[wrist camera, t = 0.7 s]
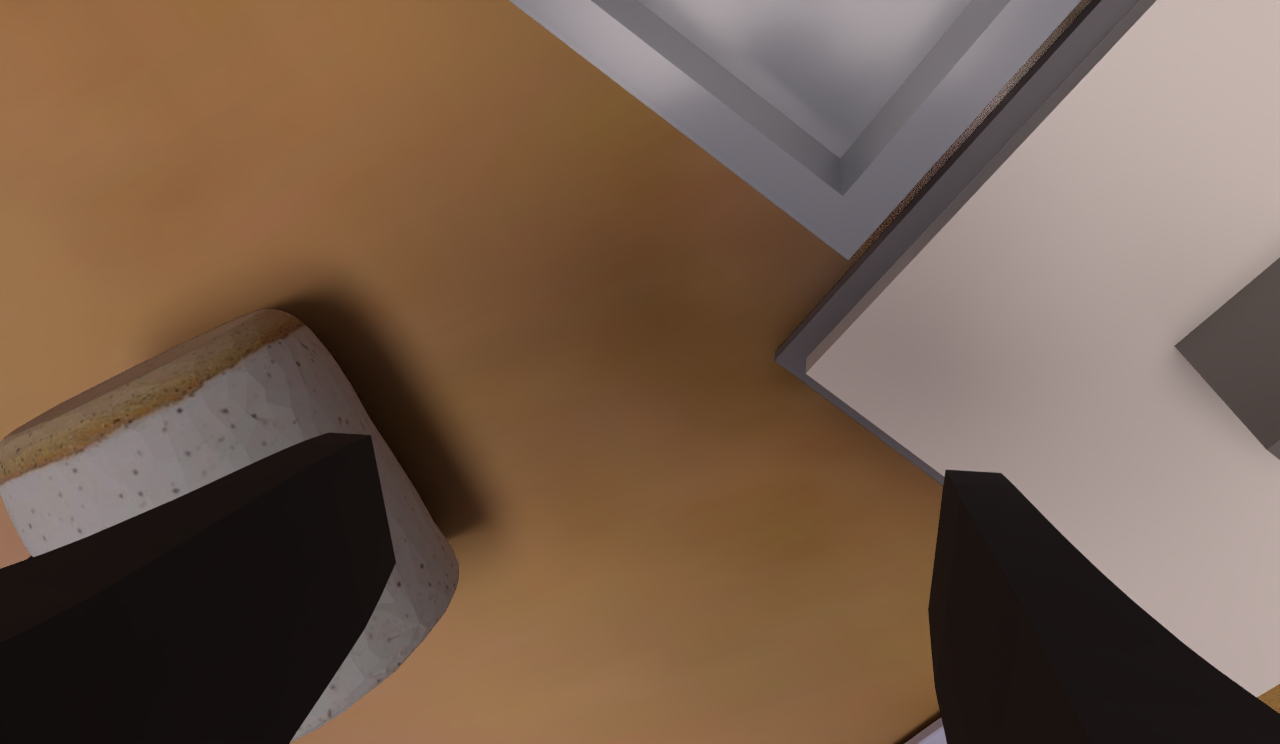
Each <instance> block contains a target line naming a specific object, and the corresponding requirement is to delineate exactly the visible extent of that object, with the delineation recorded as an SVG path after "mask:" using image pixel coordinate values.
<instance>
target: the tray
mask: <svg viewBox="0 0 1280 744" xmlns="http://www.w3.org/2000/svg"><path fill="white" fill-rule="evenodd" d="M509 1H511V2H512V3H513V4H514V5H516V6H517V7H518V8H520V9H521V10H522V11H524V12H525V13H526V14H528V15H529V16H530V17H531V18H533V19H534V20H535V21H537V22H538V23H539V24H541V25H542V26H543V27H544V28H546V29H547V30H548V31H550V32H551V33H552V34H554V35H555V36H556V37H557V38H559V39H560V40H561V41H563V42H564V43H565V44H567V45H568V46H569V47H571V48H572V49H573V50H574V51H576V52H577V53H578V54H580V55H581V56H582V57H584V58H585V59H586V60H587V61H589V62H590V63H591V64H593V65H594V66H595V67H597V68H598V69H599V70H601V71H602V72H603V73H604V74H606V75H607V76H608V77H610V78H611V79H612V80H614V81H615V82H616V83H617V84H619V85H620V86H621V87H623V88H624V89H625V90H627V91H628V92H629V93H630V94H632V95H633V96H634V97H636V98H637V99H638V100H640V101H641V102H642V103H644V104H645V105H646V106H647V107H649V108H650V109H651V110H653V111H654V112H655V113H657V114H658V115H659V116H660V117H662V118H663V119H664V120H666V121H667V122H668V123H670V124H671V125H672V126H674V127H675V128H676V129H677V130H679V131H680V132H681V133H683V134H684V135H685V136H687V137H688V138H689V139H690V140H692V141H693V142H694V143H696V144H697V145H698V146H700V147H701V148H702V149H703V150H705V151H706V152H707V153H709V154H710V155H711V156H713V157H714V158H715V159H717V160H718V161H719V162H720V163H722V164H723V165H724V166H726V167H727V168H728V169H730V170H731V171H732V172H733V173H735V174H736V175H737V176H739V177H740V178H741V179H743V180H744V181H745V182H747V183H748V184H749V185H750V186H752V187H753V188H754V189H756V190H757V191H758V192H760V193H761V194H762V195H763V196H765V197H766V198H767V199H769V200H770V201H771V202H773V203H774V204H775V205H776V206H778V207H779V208H780V209H782V210H783V211H784V212H786V213H787V214H788V215H790V216H791V217H792V218H793V219H795V220H796V221H797V222H799V223H800V224H801V225H803V226H804V227H805V228H806V229H808V230H809V231H810V232H812V233H813V234H814V235H816V236H817V237H818V238H820V239H821V240H822V241H823V242H825V243H826V244H827V245H829V246H830V247H831V248H833V249H834V250H835V251H836V252H838V253H839V254H840V255H842V256H843V257H844V258H846V259H847V260H849V259H850V258H851V257H852V256H853V254H854V253H855V252H856V251H857V250H858V249H859V248H860V247H861V246H862V244H863V243H864V242H865V241H866V240H867V239H868V238H869V237H870V236H871V234H872V233H873V232H874V231H875V230H876V229H877V228H878V227H879V225H880V224H881V223H882V222H883V221H884V220H885V219H886V218H887V217H888V215H889V214H890V213H891V212H892V211H893V210H894V209H895V208H896V206H897V205H898V204H899V203H900V202H901V201H902V200H903V199H904V198H905V196H906V195H907V194H908V193H909V192H910V191H911V190H912V189H913V188H914V186H915V185H916V184H917V183H918V182H919V181H920V180H921V179H922V177H923V176H924V175H925V174H926V173H927V172H928V171H929V170H930V169H931V167H932V166H933V165H934V164H935V163H936V162H937V161H938V160H939V158H940V157H941V156H942V155H943V154H944V153H945V152H946V151H947V150H948V148H949V147H950V146H951V145H952V144H953V143H954V142H955V141H956V140H957V138H958V137H959V136H960V135H961V134H962V133H963V132H964V131H965V129H966V128H967V127H968V126H969V125H970V124H971V123H972V122H973V121H974V119H975V118H976V117H977V116H978V115H979V114H980V113H981V112H982V111H983V109H984V108H985V107H986V106H987V105H988V104H989V103H990V102H991V100H992V99H993V98H994V97H995V96H996V95H997V94H998V93H999V92H1000V90H1001V89H1002V88H1003V87H1004V86H1005V85H1006V84H1007V83H1008V81H1009V80H1010V79H1011V78H1012V77H1013V76H1014V75H1015V74H1016V73H1017V71H1018V70H1019V69H1020V68H1021V67H1022V66H1023V65H1024V64H1025V63H1026V61H1027V60H1028V59H1029V58H1030V57H1031V56H1032V55H1033V54H1034V52H1035V51H1036V50H1037V49H1038V48H1039V47H1040V46H1041V45H1042V44H1043V42H1044V41H1045V40H1046V39H1047V38H1048V37H1049V36H1050V35H1051V33H1052V32H1053V31H1054V30H1055V29H1056V28H1057V27H1058V26H1059V25H1060V23H1061V22H1062V21H1063V20H1064V19H1065V18H1066V17H1067V16H1068V15H1069V13H1070V12H1071V11H1072V10H1073V9H1074V8H1075V7H1076V6H1077V4H1078V3H1079V2H1080V1H1081V0H509Z"/></svg>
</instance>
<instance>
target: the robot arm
mask: <svg viewBox="0 0 1280 744" xmlns="http://www.w3.org/2000/svg"><path fill="white" fill-rule="evenodd" d="M395 564H396V559H395V554H394V549H393V544H392V539H391V534H390V529H389V524H388V519H387V514H386V508H385V503H384V498H383V493H382V488H381V483H380V478H379V473H378V468H377V463H376V457H375V452H374V447H373V442H372V437H371V435H363V434H346V433H330V432H329V433H326V434H323V435H320V436H316V437H313V438H311V439H308V440H305V441H303V442H300V443H298V444H295V445H293V446H290V447H288V448H286V449H283V450H281V451H279V452H277V453H274V454H272V455H270V456H268V457H265V458H263V459H261V460H259V461H257V462H254V463H252V464H250V465H248V466H246V467H243V468H241V469H239V470H237V471H235V472H233V473H230V474H228V475H226V476H224V477H222V478H220V479H217V480H215V481H213V482H211V483H209V484H207V485H204V486H202V487H200V488H198V489H196V490H194V491H191V492H189V493H187V494H185V495H183V496H181V497H178V498H176V499H174V500H172V501H169V502H167V503H165V504H162V505H160V506H158V507H155V508H153V509H151V510H148V511H146V512H144V513H142V514H139V515H137V516H135V517H132V518H130V519H128V520H125V521H123V522H121V523H118V524H116V525H114V526H111V527H109V528H107V529H104V530H102V531H100V532H97V533H95V534H93V535H90V536H88V537H85V538H83V539H80V540H78V541H75V542H73V543H70V544H68V545H65V546H62V547H60V548H57V549H54V550H52V551H49V552H46V553H44V554H41V555H38V556H36V557H33V558H30V559H27V560H24V561H21V562H18V563H16V564H13V565H10V566H7V567H4V568H1V569H0V744H289V743H290V741H291V740H292V738H293V737H294V735H295V734H296V732H297V731H298V729H299V728H300V726H301V725H302V724H303V722H304V721H305V719H306V718H307V716H308V715H309V713H310V712H311V710H312V709H313V707H314V706H315V704H316V703H317V701H318V700H319V698H320V697H321V695H322V694H323V692H324V691H325V689H326V688H327V686H328V685H329V683H330V682H331V680H332V679H333V677H334V676H335V674H336V673H337V671H338V670H339V668H340V666H341V665H342V663H343V662H344V660H345V659H346V657H347V656H348V654H349V653H350V651H351V650H352V648H353V647H354V645H355V643H356V642H357V640H358V639H359V637H360V636H361V634H362V632H363V631H364V629H365V628H366V626H367V624H368V622H369V620H370V618H371V616H372V614H373V612H374V610H375V608H376V606H377V604H378V602H379V600H380V597H381V595H382V593H383V591H384V589H385V586H386V584H387V582H388V580H389V577H390V575H391V573H392V571H393V569H394V566H395ZM928 612H929V624H930V637H931V649H932V660H933V670H934V681H935V690H936V694H937V699H938V704H939V709H940V714H941V718H939V719H938V720H937V721H935V722H934V723H932V724H931V725H930V726H928V727H927V728H925V729H924V730H923V731H921V732H920V733H918V734H917V735H916V736H914V737H913V738H911V739H910V740H909V741H907V742H906V743H904V744H1280V714H1279V713H1277V712H1276V711H1275V710H1273V709H1272V708H1270V707H1269V706H1268V705H1266V704H1265V703H1264V702H1262V701H1261V700H1259V699H1258V698H1257V697H1255V696H1254V695H1252V694H1251V693H1250V692H1248V691H1247V690H1246V689H1244V688H1243V687H1241V686H1240V685H1239V684H1237V683H1236V682H1234V681H1233V680H1232V679H1230V678H1229V677H1227V676H1226V675H1225V674H1223V673H1222V672H1221V671H1219V670H1218V669H1216V668H1215V667H1214V666H1212V665H1211V664H1210V663H1209V662H1207V661H1206V660H1205V659H1203V658H1202V657H1201V656H1199V655H1198V654H1197V653H1196V652H1194V651H1193V650H1192V649H1190V648H1189V647H1188V646H1187V645H1185V644H1184V643H1183V642H1182V641H1180V640H1179V639H1178V638H1177V637H1176V636H1174V635H1173V634H1172V633H1171V632H1170V631H1168V630H1167V629H1166V628H1165V627H1164V626H1163V625H1161V624H1160V623H1159V622H1158V621H1157V620H1155V619H1154V618H1153V617H1152V616H1151V615H1149V614H1148V613H1147V612H1146V611H1145V610H1143V609H1142V608H1141V607H1140V606H1139V605H1137V604H1136V603H1135V602H1134V601H1133V600H1132V599H1131V598H1130V597H1128V596H1127V595H1126V594H1125V593H1124V592H1123V591H1122V590H1121V589H1119V588H1118V587H1117V586H1116V585H1115V584H1114V583H1113V582H1112V581H1111V580H1109V579H1108V578H1107V577H1106V576H1105V575H1104V574H1103V573H1102V572H1101V571H1100V570H1099V569H1098V568H1096V567H1095V566H1094V565H1093V564H1092V563H1091V562H1090V561H1089V560H1088V559H1087V558H1086V557H1085V556H1084V555H1083V554H1082V553H1081V552H1080V551H1079V550H1078V549H1077V548H1076V547H1075V546H1074V545H1072V544H1071V543H1070V542H1069V541H1068V540H1067V539H1066V538H1065V537H1064V536H1063V535H1062V534H1061V533H1060V532H1059V531H1058V530H1057V529H1056V528H1055V527H1054V526H1053V525H1052V524H1051V523H1050V522H1049V521H1048V520H1047V519H1046V518H1045V517H1044V516H1043V515H1042V514H1041V512H1040V511H1039V510H1038V509H1037V508H1036V507H1035V506H1034V505H1033V504H1032V503H1031V502H1030V501H1029V500H1028V499H1027V498H1026V497H1025V496H1024V495H1023V494H1022V493H1021V492H1020V491H1019V490H1018V489H1017V488H1016V487H1015V486H1014V485H1013V484H1012V483H1011V482H1010V481H1009V480H1008V479H1007V478H1006V477H1005V476H1004V475H1003V474H1002V473H995V472H978V471H961V470H945V477H944V486H943V494H942V502H941V510H940V519H939V527H938V535H937V543H936V551H935V560H934V568H933V576H932V584H931V593H930V601H929V609H928Z"/></svg>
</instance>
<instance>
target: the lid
mask: <svg viewBox="0 0 1280 744" xmlns="http://www.w3.org/2000/svg"><path fill="white" fill-rule="evenodd" d="M806 374H807V375H808V376H810V377H811V378H812V379H814V380H815V381H816V382H818V383H819V384H820V385H822V386H823V387H824V388H826V389H827V390H828V391H830V392H831V393H833V394H834V395H835V396H837V397H838V398H839V399H841V400H842V401H843V402H845V403H846V404H847V405H849V406H850V407H851V408H853V409H854V410H855V411H857V412H858V413H859V414H861V415H862V416H863V417H865V418H866V419H867V420H869V421H870V422H871V423H873V424H874V425H875V426H877V427H878V428H880V429H881V430H882V431H884V432H885V433H886V434H888V435H889V436H890V437H892V438H893V439H894V440H896V441H897V442H898V443H900V444H901V445H902V446H904V447H905V448H906V449H908V450H909V451H910V452H912V453H913V454H914V455H916V456H917V457H918V458H920V459H921V460H922V461H924V462H925V463H926V464H928V465H929V466H931V467H932V468H933V469H935V470H936V471H937V472H939V473H940V474H941V475H943V476H944V477H945V470H961V471H978V472H995V473H1002V474H1003V475H1004V476H1005V477H1006V478H1007V479H1008V480H1009V481H1010V482H1011V483H1012V484H1013V485H1014V486H1015V487H1016V488H1017V489H1018V490H1019V491H1020V492H1021V493H1022V494H1023V495H1024V496H1025V497H1026V498H1027V499H1028V500H1029V501H1030V502H1031V503H1032V504H1033V505H1034V506H1035V507H1036V508H1037V509H1038V510H1039V511H1040V512H1041V514H1042V515H1043V516H1044V517H1045V518H1046V519H1047V520H1048V521H1049V522H1050V523H1051V524H1052V525H1053V526H1054V527H1055V528H1056V529H1057V530H1058V531H1059V532H1060V533H1061V534H1062V535H1063V536H1064V537H1065V538H1066V539H1067V540H1068V541H1069V542H1070V543H1071V544H1072V545H1074V546H1075V547H1076V548H1077V549H1078V550H1079V551H1080V552H1081V553H1082V554H1083V555H1084V556H1085V557H1086V558H1087V559H1088V560H1089V561H1090V562H1091V563H1092V564H1093V565H1094V566H1095V567H1096V568H1098V569H1099V570H1100V571H1101V572H1102V573H1103V574H1104V575H1105V576H1106V577H1107V578H1108V579H1109V580H1111V581H1112V582H1113V583H1114V584H1115V585H1116V586H1117V587H1118V588H1119V589H1121V590H1122V591H1123V592H1124V593H1125V594H1126V595H1127V596H1128V597H1130V598H1131V599H1132V600H1133V601H1134V602H1135V603H1136V604H1137V605H1139V606H1140V607H1141V608H1142V609H1143V610H1145V611H1146V612H1147V613H1148V614H1149V615H1151V616H1152V617H1153V618H1154V619H1155V620H1157V621H1158V622H1159V623H1160V624H1161V625H1163V626H1164V627H1165V628H1166V629H1167V630H1168V631H1170V632H1171V633H1172V634H1173V635H1174V636H1176V637H1177V638H1178V639H1179V640H1180V641H1182V642H1183V643H1184V644H1185V645H1187V646H1188V647H1189V648H1190V649H1192V650H1193V651H1194V652H1196V653H1197V654H1198V655H1199V656H1201V657H1202V658H1203V659H1205V660H1206V661H1207V662H1209V663H1210V664H1211V665H1212V666H1214V667H1215V668H1216V669H1218V670H1219V671H1221V672H1222V673H1223V674H1225V675H1226V676H1227V677H1229V678H1230V679H1232V680H1233V681H1234V682H1236V683H1237V684H1239V685H1240V686H1241V687H1243V688H1244V689H1246V690H1247V691H1248V692H1250V693H1251V694H1252V695H1254V696H1255V697H1258V696H1260V695H1262V694H1263V693H1265V692H1267V691H1268V690H1270V689H1272V688H1273V687H1275V686H1277V685H1278V684H1280V0H1139V1H1138V2H1137V3H1136V4H1135V5H1134V6H1133V8H1132V9H1131V10H1130V11H1129V12H1128V13H1127V14H1126V15H1125V16H1124V17H1123V18H1122V19H1121V20H1120V22H1119V23H1118V24H1117V25H1116V26H1115V27H1114V28H1113V29H1112V30H1111V31H1110V32H1109V33H1108V34H1107V36H1106V37H1105V38H1104V39H1103V40H1102V41H1101V42H1100V43H1099V44H1098V45H1097V46H1096V47H1095V48H1094V49H1093V51H1092V52H1091V53H1090V54H1089V55H1088V56H1087V57H1086V58H1085V59H1084V60H1083V61H1082V62H1081V63H1080V65H1079V66H1078V67H1077V68H1076V69H1075V70H1074V71H1073V72H1072V73H1071V74H1070V75H1069V76H1068V77H1067V79H1066V80H1065V81H1064V82H1063V83H1062V84H1061V85H1060V86H1059V87H1058V88H1057V89H1056V90H1055V91H1054V92H1053V94H1052V95H1051V96H1050V97H1049V98H1048V99H1047V100H1046V101H1045V102H1044V103H1043V104H1042V105H1041V106H1040V108H1039V109H1038V110H1037V111H1036V112H1035V113H1034V114H1033V115H1032V116H1031V117H1030V118H1029V119H1028V120H1027V122H1026V123H1025V124H1024V125H1023V126H1022V127H1021V128H1020V129H1019V130H1018V131H1017V132H1016V133H1015V134H1014V135H1013V137H1012V138H1011V139H1010V140H1009V141H1008V142H1007V143H1006V144H1005V145H1004V146H1003V147H1002V148H1001V149H1000V151H999V152H998V153H997V154H996V155H995V156H994V157H993V158H992V159H991V160H990V161H989V162H988V163H987V165H986V166H985V167H984V168H983V169H982V170H981V171H980V172H979V173H978V174H977V175H976V176H975V177H974V178H973V180H972V181H971V182H970V183H969V184H968V185H967V186H966V187H965V188H964V189H963V190H962V191H961V192H960V194H959V195H958V196H957V197H956V198H955V199H954V200H953V201H952V202H951V203H950V204H949V205H948V206H947V208H946V209H945V210H944V211H943V212H942V213H941V214H940V215H939V216H938V217H937V218H936V219H935V220H934V221H933V223H932V224H931V225H930V226H929V227H928V228H927V229H926V230H925V231H924V232H923V233H922V234H921V235H920V237H919V238H918V239H917V240H916V241H915V242H914V243H913V244H912V245H911V246H910V247H909V248H908V249H907V251H906V252H905V253H904V254H903V255H902V256H901V257H900V258H899V259H898V260H897V261H896V262H895V263H894V264H893V266H892V267H891V268H890V269H889V270H888V271H887V272H886V273H885V274H884V275H883V276H882V277H881V278H880V280H879V281H878V282H877V283H876V284H875V285H874V286H873V287H872V288H871V289H870V290H869V291H868V292H867V294H866V295H865V296H864V297H863V298H862V299H861V300H860V301H859V302H858V303H857V304H856V305H855V306H854V308H853V309H852V310H851V311H850V312H849V313H848V314H847V315H846V316H845V317H844V318H843V319H842V320H841V321H840V323H839V324H838V325H837V326H836V327H835V328H834V329H833V330H832V331H831V332H830V333H829V334H828V335H827V337H826V338H825V339H824V340H823V341H822V342H821V343H820V344H819V345H818V346H817V347H816V348H815V349H814V351H813V352H812V353H811V354H810V355H809V356H808V357H807V358H806Z"/></svg>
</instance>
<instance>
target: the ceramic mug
mask: <svg viewBox="0 0 1280 744" xmlns="http://www.w3.org/2000/svg"><path fill="white" fill-rule="evenodd" d="M329 432H330V433H346V434H363V435H371V437H372V442H373V447H374V452H375V457H376V463H377V468H378V473H379V478H380V483H381V488H382V493H383V498H384V503H385V508H386V514H387V519H388V524H389V529H390V534H391V539H392V544H393V549H394V554H395V559H396V564H395V566H394V569H393V571H392V573H391V575H390V577H389V580H388V582H387V584H386V586H385V589H384V591H383V593H382V595H381V597H380V600H379V602H378V604H377V606H376V608H375V610H374V612H373V614H372V616H371V618H370V620H369V622H368V624H367V626H366V628H365V629H364V631H363V632H362V634H361V636H360V637H359V639H358V640H357V642H356V643H355V645H354V647H353V648H352V650H351V651H350V653H349V654H348V656H347V657H346V659H345V660H344V662H343V663H342V665H341V666H340V668H339V670H338V671H337V673H336V674H335V676H334V677H333V679H332V680H331V682H330V683H329V685H328V686H327V688H326V689H325V691H324V692H323V694H322V695H321V697H320V698H319V700H318V701H317V703H316V704H315V706H314V707H313V709H312V710H311V712H310V713H309V715H308V716H307V718H306V719H305V721H304V722H303V724H302V725H301V726H300V728H299V729H298V731H297V732H296V734H295V735H294V737H293V738H292V740H291V741H290V742H292V741H294V740H296V739H298V738H300V737H302V736H304V735H306V734H308V733H310V732H313V731H315V730H317V729H318V728H320V727H321V726H323V725H324V724H326V723H328V722H329V721H331V720H332V719H334V718H335V717H337V716H338V715H340V714H341V713H343V712H344V711H346V710H347V709H348V708H349V707H351V706H352V705H353V704H354V703H355V702H357V701H358V700H359V699H360V698H361V697H363V696H364V695H365V694H367V693H368V692H369V691H371V690H372V689H374V688H375V687H376V686H378V685H379V684H380V683H381V682H383V681H384V680H385V679H386V678H388V677H389V676H390V675H391V674H392V673H394V672H395V671H396V670H397V669H398V668H399V666H400V665H401V664H402V663H403V662H404V661H405V660H406V659H407V658H408V656H409V655H410V654H411V653H412V652H413V651H414V650H415V649H416V648H417V647H418V646H419V644H420V643H421V642H422V641H423V640H424V639H425V638H426V636H427V635H428V634H429V632H430V631H431V630H432V628H433V627H434V626H435V625H436V623H437V622H438V621H439V619H440V618H441V617H442V616H443V614H444V613H445V612H446V610H447V608H448V606H449V604H450V602H451V599H452V597H453V595H454V593H455V590H456V587H457V583H458V580H459V564H458V561H457V559H456V556H455V553H454V551H453V549H452V547H451V546H450V544H449V542H448V541H447V539H446V538H445V537H444V535H443V534H442V532H441V531H440V530H439V528H438V527H437V525H436V524H435V522H434V521H433V519H432V517H431V516H430V514H429V512H428V510H427V509H426V507H425V505H424V503H423V502H422V500H421V498H420V496H419V494H418V493H417V491H416V489H415V488H414V486H413V485H412V483H411V481H410V480H409V478H408V477H407V475H406V473H405V472H404V470H403V469H402V467H401V466H400V464H399V462H398V461H397V459H396V458H395V456H394V454H393V453H392V451H391V450H390V448H389V447H388V445H387V444H386V442H385V441H384V439H383V438H382V436H381V435H380V433H379V432H378V430H377V429H376V427H375V425H374V424H373V422H372V421H371V419H370V418H369V416H368V414H367V413H366V411H365V409H364V407H363V405H362V403H361V402H360V400H359V398H358V396H357V394H356V393H355V391H354V389H353V387H352V385H351V384H350V382H349V381H348V379H347V378H346V376H345V375H344V373H343V372H342V370H341V368H340V367H339V365H338V364H337V362H336V361H335V359H334V358H333V357H332V355H331V354H330V353H329V351H328V350H327V349H326V348H325V346H324V345H323V344H322V343H321V342H320V340H319V339H318V338H317V337H316V336H315V334H314V333H313V332H312V331H311V330H310V329H309V328H308V327H307V326H306V325H305V324H304V323H302V322H301V321H300V320H299V319H298V318H297V317H295V316H294V315H292V314H289V313H287V312H284V311H281V310H275V309H266V308H265V309H262V310H258V311H255V312H252V313H250V314H247V315H245V316H242V317H239V318H237V319H235V320H232V321H230V322H228V323H226V324H223V325H221V326H219V327H217V328H215V329H213V330H210V331H208V332H206V333H204V334H202V335H200V336H197V337H195V338H193V339H191V340H189V341H186V342H184V343H182V344H180V345H178V346H176V347H174V348H172V349H170V350H168V351H166V352H164V353H161V354H159V355H157V356H155V357H153V358H151V359H149V360H147V361H145V362H142V363H140V364H138V365H136V366H134V367H132V368H130V369H128V370H126V371H124V372H122V373H120V374H118V375H116V376H114V377H112V378H110V379H108V380H106V381H104V382H102V383H100V384H98V385H96V386H94V387H92V388H91V389H89V390H87V391H85V392H83V393H81V394H79V395H77V396H75V397H73V398H71V399H69V400H67V401H65V402H63V403H61V404H59V405H57V406H55V407H53V408H52V409H50V410H48V411H46V412H45V413H43V414H41V415H39V416H37V417H36V418H34V419H32V420H31V421H29V422H27V423H26V424H24V425H22V426H21V427H19V428H17V429H16V430H14V431H12V432H11V433H10V434H9V435H7V436H6V437H5V438H4V439H3V440H2V441H1V442H0V494H1V497H2V499H3V501H4V504H5V506H6V509H7V511H8V513H9V516H10V518H11V520H12V522H13V524H14V526H15V528H16V530H17V532H18V534H19V536H20V537H21V539H22V541H23V543H24V545H25V547H26V548H27V550H28V551H29V552H30V554H31V555H32V556H33V557H36V556H38V555H41V554H44V553H46V552H49V551H52V550H54V549H57V548H60V547H62V546H65V545H68V544H70V543H73V542H75V541H78V540H80V539H83V538H85V537H88V536H90V535H93V534H95V533H97V532H100V531H102V530H104V529H107V528H109V527H111V526H114V525H116V524H118V523H121V522H123V521H125V520H128V519H130V518H132V517H135V516H137V515H139V514H142V513H144V512H146V511H148V510H151V509H153V508H155V507H158V506H160V505H162V504H165V503H167V502H169V501H172V500H174V499H176V498H178V497H181V496H183V495H185V494H187V493H189V492H191V491H194V490H196V489H198V488H200V487H202V486H204V485H207V484H209V483H211V482H213V481H215V480H217V479H220V478H222V477H224V476H226V475H228V474H230V473H233V472H235V471H237V470H239V469H241V468H243V467H246V466H248V465H250V464H252V463H254V462H257V461H259V460H261V459H263V458H265V457H268V456H270V455H272V454H274V453H277V452H279V451H281V450H283V449H286V448H288V447H290V446H293V445H295V444H298V443H300V442H303V441H305V440H308V439H311V438H313V437H316V436H320V435H323V434H326V433H329Z"/></svg>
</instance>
